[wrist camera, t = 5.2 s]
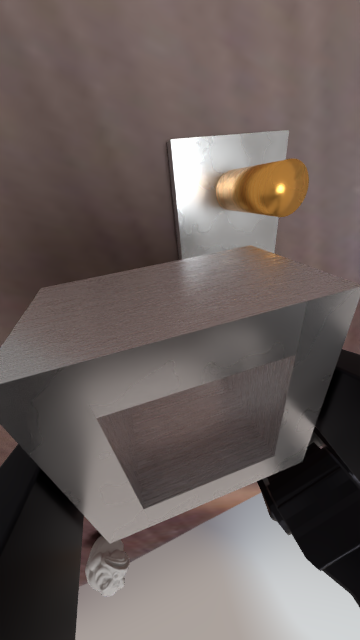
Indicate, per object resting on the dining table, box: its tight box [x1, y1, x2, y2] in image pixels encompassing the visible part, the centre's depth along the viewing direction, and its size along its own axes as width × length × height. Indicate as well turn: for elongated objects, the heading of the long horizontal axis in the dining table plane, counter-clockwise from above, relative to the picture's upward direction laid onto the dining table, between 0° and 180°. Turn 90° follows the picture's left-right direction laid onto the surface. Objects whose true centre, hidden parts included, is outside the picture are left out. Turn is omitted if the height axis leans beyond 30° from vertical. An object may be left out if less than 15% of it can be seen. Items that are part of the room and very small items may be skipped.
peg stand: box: [167, 130, 309, 260], centre depth 14 cm, size 10×8×6 cm
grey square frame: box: [0, 245, 360, 543], centre depth 7 cm, size 7×7×4 cm
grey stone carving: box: [85, 535, 130, 597], centre depth 34 cm, size 6×7×7 cm
